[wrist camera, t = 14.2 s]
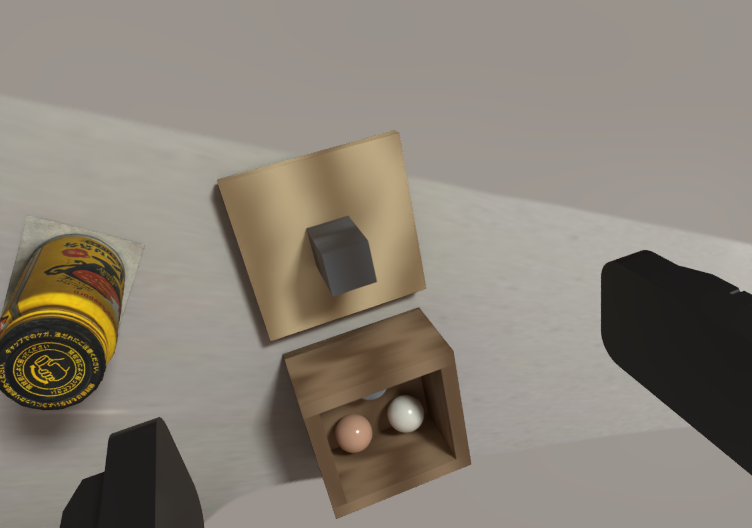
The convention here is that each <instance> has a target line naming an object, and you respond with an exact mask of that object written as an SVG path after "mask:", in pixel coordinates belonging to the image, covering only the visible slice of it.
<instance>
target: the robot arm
mask: <svg viewBox="0 0 752 528" xmlns="http://www.w3.org/2000/svg"><path fill="white" fill-rule="evenodd" d="M601 336H602V340H603V343H604V346H605V348H606V350H607V352H608V354H609V356H610V357H611V358H612V360H613V361H614V362H615V363H616V364H617V365H618V366H619V367H621V368H622V369H623V370H624V371H626V372H627V373H628V374H629V375H630V376H632V377H633V378H634V379H635V380H636V381H638V382H639V383H640V384H641V385H643V386H644V387H645V388H646V389H647V390H649V391H650V392H651V393H652V394H653V395H655V396H656V397H657V398H658V399H660V400H661V401H662V402H663V403H664V404H666V405H667V406H668V407H669V408H670V409H672V410H673V411H674V412H675V413H677V414H678V415H679V416H680V417H681V418H683V419H684V420H685V421H686V422H687V423H689V424H690V425H691V426H692V427H694V428H695V429H696V430H697V431H698V432H700V433H701V434H702V435H703V436H705V437H706V438H707V439H708V440H710V441H711V442H712V443H713V444H714V445H715V446H717V447H718V448H719V449H720V450H722V451H723V452H724V453H725V454H726V455H728V456H729V457H730V458H731V459H733V460H734V461H735V462H736V463H737V464H739V465H740V466H741V467H742V468H744V469H745V470H746V471H747V472H749V473H750V474H751V475H752V295H751V294H750V293H748V292H746V291H742V292H740V290H739V288H738V287H736V286H734V285H732V284H730V283H728V282H726V281H724V280H722V279H720V278H719V277H717V276H715V275H713V274H709V273H705V272H702V271H698V270H694V269H690V268H686V267H682V266H678V265H676V264H674V263H673V262H671V261H669V260H667V259H665V258H663V257H661V256H659V255H658V254H656V253H654V252H652V251H649V250H642V251H639V252H636V253H633V254H630V255H628V256H625V257H622V258H619V259H616V260H613V261H610V262H608V263H606V264H605V265H604V267H603V269H602V273H601ZM60 528H204V520H203V514H202V509H201V505H200V501H199V498H198V494H197V491H196V488H195V486H194V483H193V481H192V479H191V477H190V475H189V473H188V470H187V468H186V466H185V464H184V462H183V460H182V458H181V455H180V453H179V451H178V449H177V447H176V445H175V442H174V440H173V438H172V436H171V434H170V432H169V429H168V427H167V425H166V424H165V422H164V420H163V419H162V418H160V417H158V418H155V419H153V420H150V421H147V422H144V423H141V424H138V425H135V426H132V427H130V428H127V429H124V430H121V431H118V432H115V433H112V434H111V435H110V437H109V440H108V448H107V456H106V465H105V472H102V473H99V474H97V475H94V476H91V477H88V478H85V479H83V480H82V481H81V483H80V485H79V486H78V488H77V489H76V491H75V493H74V494H73V496H72V498H71V499H70V501H69V503H68V504H67V506H66V507H65V509H64V511H63V514H62V519H61V524H60Z"/></svg>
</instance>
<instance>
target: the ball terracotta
mask: <svg viewBox="0 0 752 528" xmlns="http://www.w3.org/2000/svg"><path fill="white" fill-rule="evenodd" d="M335 438H336V441H337V443H338V445H339V446H340V447H341V448H342V449H343V450H345V451H347V452H350V453H357V452H361V451H363V450H364V449H365V448H367V446H368V445H369V444H370V442H371V439H372V427H371V425H370V423H369V421H368V420H367V419H366V418H365V417H363V416H361V415H358V414H350V415H347V416H345V417H343V418H342V419H341V420H340V421H339V422H338V424H337V426H336V429H335Z"/></svg>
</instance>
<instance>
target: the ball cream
mask: <svg viewBox="0 0 752 528" xmlns="http://www.w3.org/2000/svg"><path fill="white" fill-rule="evenodd" d="M387 416H388V420H389V422H390V424H391V425H392V427H393V428H394V429H396V430H397V431H400V432H404V433H408V432H412V431H415V430H416V429H417V428H419V427H420V425H421V424H422V422H423V419H424V409H423V406H422V404H421V403H420V401H419V400H418V399H417V398H415V397H413V396H411V395H401V396H398V397H396V398H395V399H393V400H392V402H391V403H390V405H389V407H388V411H387Z"/></svg>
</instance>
